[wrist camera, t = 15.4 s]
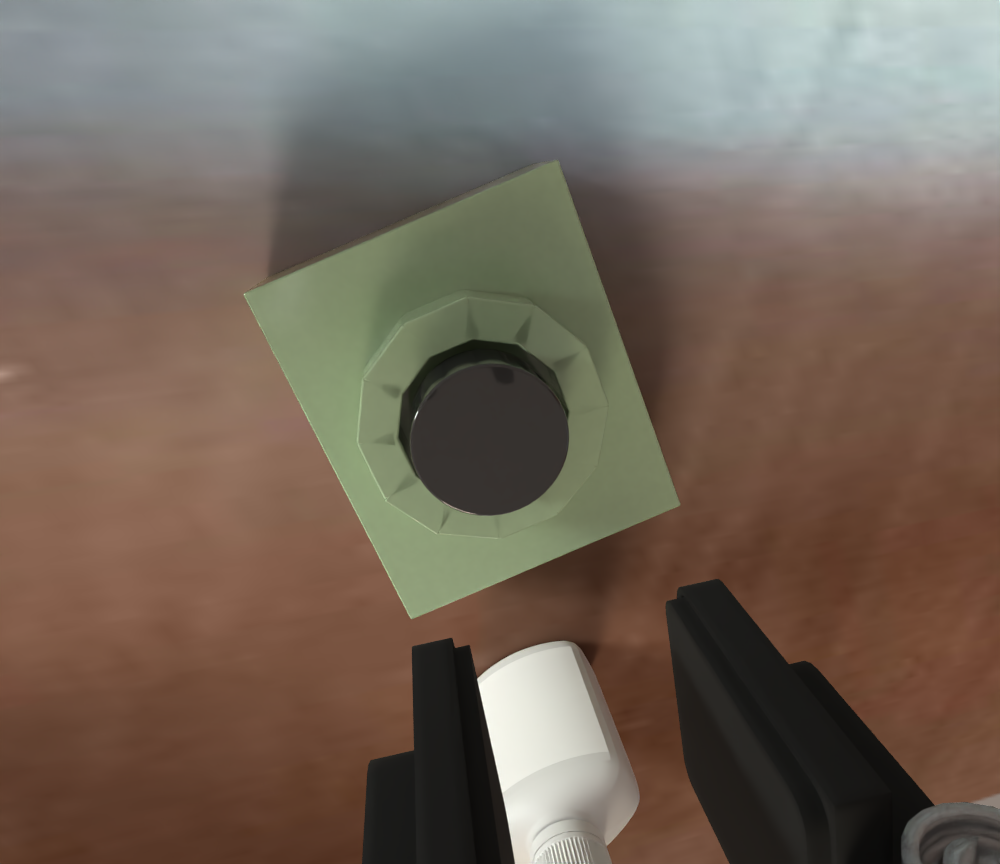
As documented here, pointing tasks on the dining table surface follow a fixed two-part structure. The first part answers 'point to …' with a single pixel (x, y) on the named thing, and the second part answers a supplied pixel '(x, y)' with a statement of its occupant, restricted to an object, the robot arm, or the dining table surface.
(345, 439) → the button base
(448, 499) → the dark grey button cap
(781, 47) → the dining table surface
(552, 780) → the eye dropper bottle
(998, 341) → the dining table surface
